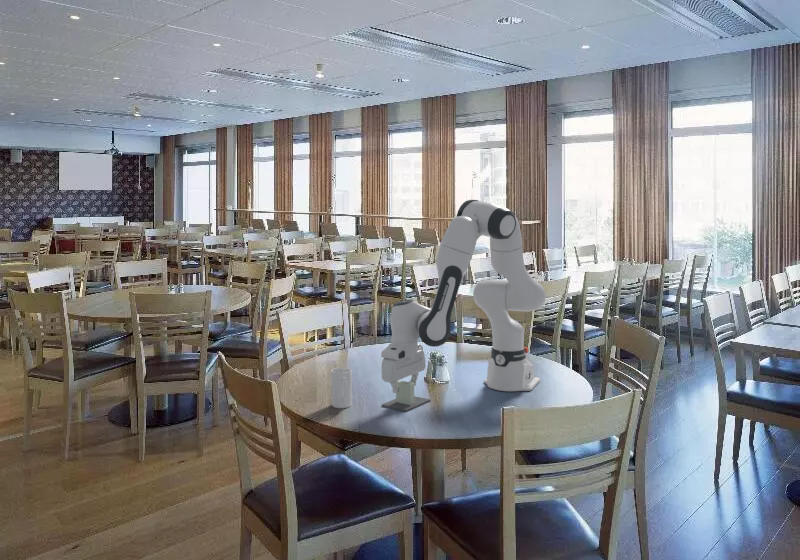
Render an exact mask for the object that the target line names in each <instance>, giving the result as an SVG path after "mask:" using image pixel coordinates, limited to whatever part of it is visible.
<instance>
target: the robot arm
mask: <svg viewBox="0 0 800 560" xmlns="http://www.w3.org/2000/svg"><path fill="white" fill-rule="evenodd" d="M482 236H485V237H489V248H490V249H489V251H490V262H491V263H490V265H491V267H492V269H493V271H495V272H496V273H497V274H499V276H500V275H501V276H502V277H504V278H505V279H498V278H494V279H493V278H491V279H490V278H489V279H484V280H480V281H478V282H477V283H476V284H475V286H474V288H473V293H472V296H473V300H474V302H475V305H477V306H478V307H479V308H480V309H481V310H482V311H483V312H484V313H485V315H486V316H487V318H488V320H489V323H490V325H491V332H492V336H491V337H492V347H491V350H490V357H491V358H490V360H489V361H488V365H487V373H486V374H487V375H486V378H484V380H483V383H484V384H486V385H487V387H488V388H489V389H492V390H496V391H500V392H501V391H502V392H522V391H523V392H524V391H525V392H526V391H527V392H529V391H532V390H533V389H534V388H536V386H537V385H538V384H539V383H540V382H541V378H540V377H537V376H535V375H534V374H535V369H534V368H535V367H534V365H533V364H532V363H531V362H530V361H529V360H528V359H527V355H526V354H528V353H529V347H524V344H525V343H524V341H525V339H524V337H525V331H524V327H523V326H522V324H521V323H520V322H519V321H517V320H515V319H513V318H512V317H511V315H509V311H513V312H534V311H540V309H541V308H542V307H543V306H544V304H545V302H546V300H547V299H546V298H547V297H546V290H545V288H544V286H543V285H542V284H541V283H539V282H538V281H537V280H536V279H534V278H533V277H532V276H531V274H530V273H529V272H528V270H527V268H526V266H525V262H524V261H525V260H524V251H523V239H522V231H521V226H520V223H519V220H518V218H517V217H516V216H515V213H514V212H513V211H512V210H510V209H509V208H507V207H505V206H501V205H498V204H496V203H492V202H487V201H482V200H478V199H468V200H465V201H464V202H463V203H462V204H460V206H459V208H458V210H457V213H456V217H454V218H452V220H451V221H450V223H449V224H448V226H447V228H446V230H445V232H444V235H443V236H442V240H441V242H440V245H439V249H438V251H437V256H436V269H437V275H438V286H437V291H436V294H435V297H434V300H433V304H432V306H431V308H430V307H427V306H424V305H422V304H420V303H418V302H417V300H414V299H403V300H399V301H397V302H395V303H394V304H393V306H392V308H391V313H390V329H391V338H390V343H388V346H386V348H384V349H382V351H381V353H380V355H381V358H383V359H382V361H381V378H382V381H383V382H385V383H389V384H390V386H391V388H392V393H393V394H396V393H399V392H400V391H399V389H400V388H399V387H398V386H397V383H398V381H399V380H402V379H406V378H408V377H410V376H411V378H410V380H409V381H408V382H411V383H414V387H416V386H417V381H418V377H419V373H421V372H422V371H425V369H426V356H425V355H426V354H425V352H424V347H423V345H421V343H418V341H419V340H418V338H420V340H421V341H422V342H423V343H424V344H425V345H427V346H429V347H436V348H437V347H440V346H442V345H444V344H446V343H447V341H449V339H450V336H451V333H452V327H451V315H452V312H453V308H454V306H455V302H456V299H457V295H458V292H459V289H460V286H461V283H462V281H463V279H464V277H465V274H466V272H467V270H468V268H469V266H470V263H471V261H472V258H473V255H474V252H475V249H476V245H477V241H478V240H479V238H480V237H482Z"/></svg>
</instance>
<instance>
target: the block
mask: <svg viewBox="0 0 800 560" xmlns="http://www.w3.org/2000/svg"><path fill="white" fill-rule="evenodd" d="M397 386H398V387H399V388H400V389H399V391H400V392H399V393H395V399H396V402H399V403H403V404H408V405H412V404H414V396H415V386H414V383H411V382H409V381H405V380H402V379H400V380H398V383H397Z"/></svg>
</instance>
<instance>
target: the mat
mask: <svg viewBox="0 0 800 560" xmlns="http://www.w3.org/2000/svg"><path fill="white" fill-rule="evenodd" d="M429 402H431V399H430V398H425V397H420V396H416V395H414V404H412V405H408V404H403V403H399V402H396V398H394V399H392V400H390V401H388V402H385V403H382V404H381V407H382V408H388V409H392V410H396V411H400V412H404V413H407V412H409V411H412V410H414V409H416V408H418V407H421V406H423V405H425V404H427V403H429Z"/></svg>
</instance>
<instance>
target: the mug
mask: <svg viewBox="0 0 800 560" xmlns="http://www.w3.org/2000/svg"><path fill="white" fill-rule="evenodd" d="M330 371H331V372H330V375H331V376H330V377H331V380H330V381H331V402H332V407H333V408H336V409H347V408H350V407H352V390H353V389H352V388H353V387H352V386H353V385H352V383H353V382H352V380H353V379H352V377H353V372H352V369H351V368H348V367H335V368H332V369H331V370H330Z"/></svg>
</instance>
